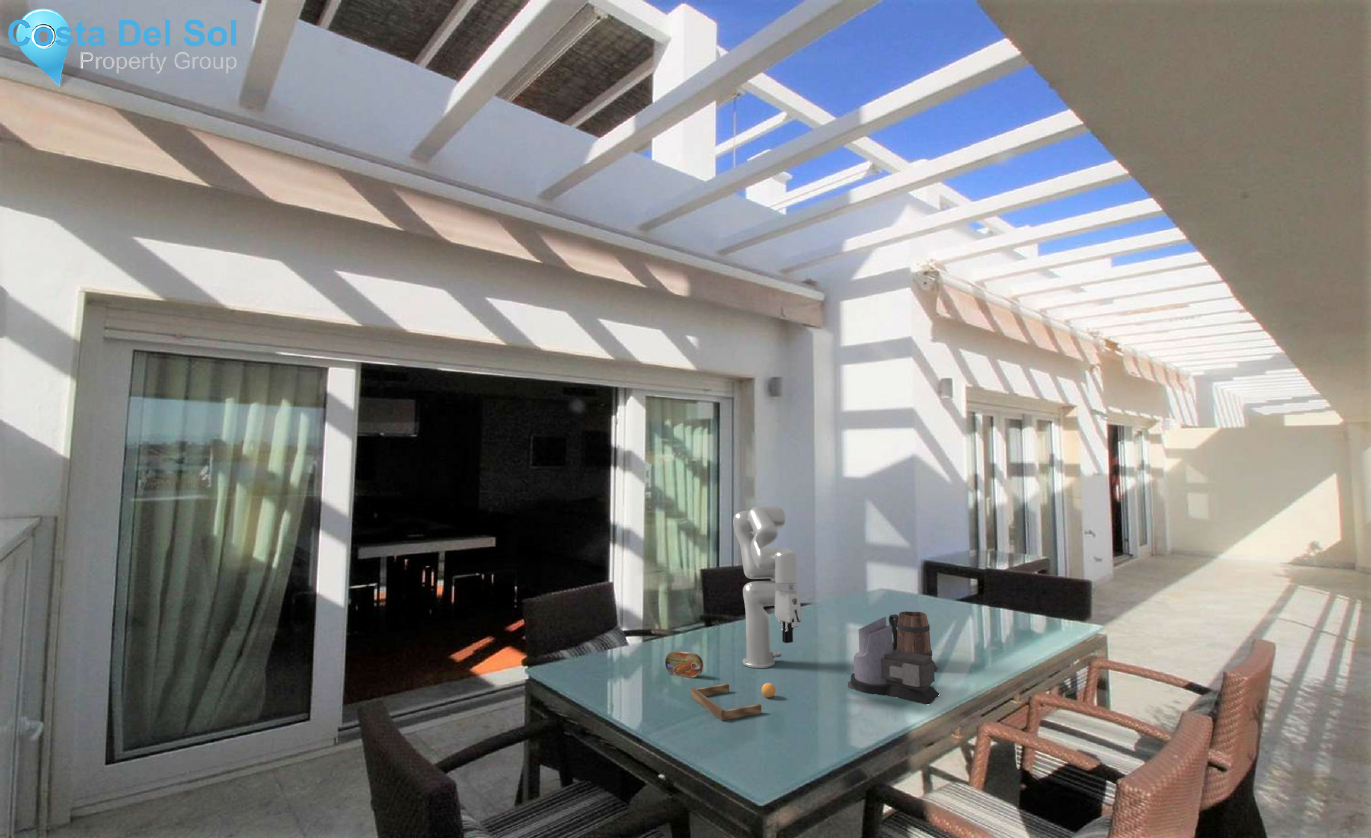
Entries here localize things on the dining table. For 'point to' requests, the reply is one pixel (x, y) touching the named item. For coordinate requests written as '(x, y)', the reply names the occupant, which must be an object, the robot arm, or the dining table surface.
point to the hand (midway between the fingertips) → (787, 642)
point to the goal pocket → (716, 710)
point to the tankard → (911, 633)
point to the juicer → (891, 667)
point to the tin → (684, 664)
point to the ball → (768, 690)
